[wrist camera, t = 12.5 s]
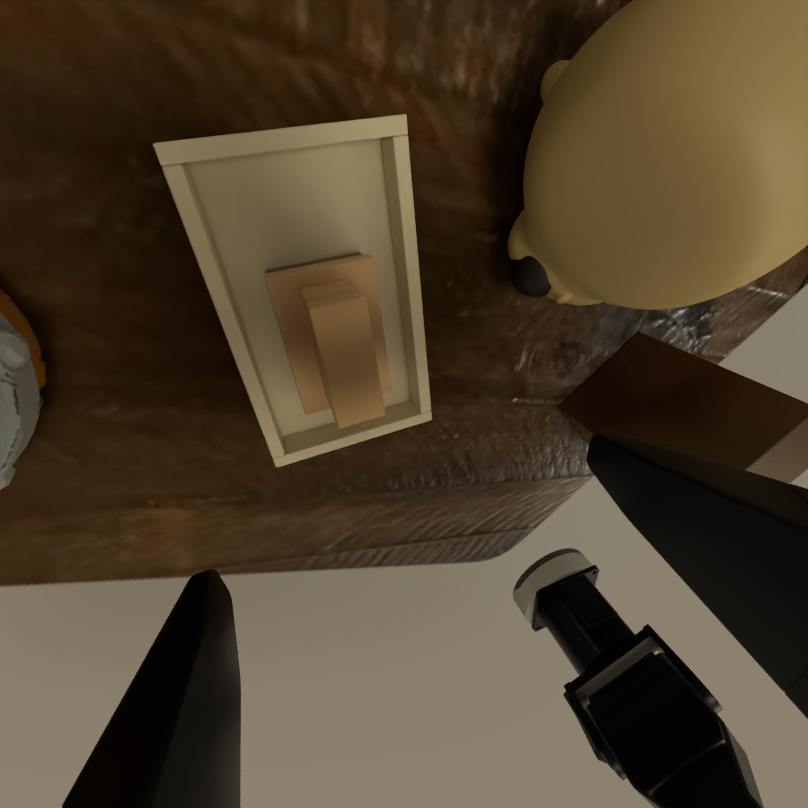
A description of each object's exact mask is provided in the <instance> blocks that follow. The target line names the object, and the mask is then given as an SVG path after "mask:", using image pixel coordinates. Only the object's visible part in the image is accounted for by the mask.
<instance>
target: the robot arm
mask: <svg viewBox="0 0 808 808" xmlns="http://www.w3.org/2000/svg"><path fill="white" fill-rule="evenodd" d="M587 463H588V466H589V468H590V469H591V471H592V472H593V473H594V475H595V476H596V477H597V479H598V480H599V481H600V483H601V484H602V485H603V487H604V488H605V489H606V491H607V492H608V493H609V495H610V496H611V497H612V499H613V500H614V502H615V503H616V504H617V506H618V507H619V508H620V510H621V511H622V512H623V513H624V515H625V516H626V517H627V518H628V520H629V521H630V522H631V523H632V524H633V525H634V526H635V528H636V529H637V530H638V531H639V532H640V533H641V534H642V535H643V536H644V537H645V539H646V540H647V541H648V542H649V543H650V544H651V545H652V546H653V547H654V549H655V550H656V551H657V552H658V553H659V554H660V555H661V556H662V557H663V558H664V560H665V561H666V562H667V563H668V564H669V565H670V566H671V567H672V569H673V570H674V571H675V572H676V573H677V574H678V575H679V576H680V577H681V578H682V579H683V581H684V582H685V583H686V584H687V585H688V586H689V587H690V589H691V590H693V592H694V593H695V594H696V595H697V596H698V597H699V598H700V600H701V601H702V602H703V603H704V604H705V605H706V606H707V607H708V608H709V610H710V611H711V612H712V613H713V614H714V615H715V616H716V617H717V618H718V619H719V621H720V622H721V623H722V624H723V625H724V626H725V627H726V628H727V630H728V631H729V632H730V633H731V634H732V635H733V636H734V637H735V638H736V640H737V641H738V642H739V643H740V644H741V645H742V646H743V647H744V648H745V649H746V651H747V652H748V653H749V654H750V655H751V656H752V657H753V658H754V659H755V660H756V662H757V663H758V664H759V665H760V666H761V667H762V668H763V669H764V670H765V672H766V673H767V674H768V675H769V676H770V677H771V678H772V679H773V681H775V683H776V684H777V685H778V686H779V687H780V688H781V689H782V690H783V691H785V694H786V695H787V696H788V698H789V699H790V700H791V701H792V702H793V703H794V704H795V705H796V706H797V707H798V709H799V710H800V711H801V712H802V713H803V714H804V715H805V716H806V717H807V719H808V489H806V488H803V487H799V486H796V485H792V484H787V483H786V482H783V481H779V480H776V479H773V478H769V477H766V476H763V475H759V474H756V473H753V472H749V471H746V470H743V469H739V468H736V467H733V466H729V465H726V464H723V463H719V462H716V461H713V460H709V459H706V458H703V457H699V456H696V455H693V454H689V453H686V452H683V451H679V450H676V449H673V448H669V447H666V446H663V445H659V444H656V443H653V442H649V441H646V440H643V439H639V438H636V437H633V436H629V435H626V434H623V433H619V432H616V431H613V430H603V431H600V432H597V433H594V434H593V435H592V436H591V439H590V443H589V449H588V454H587ZM598 573H599V569H598V568H597V566H596V565H593V566H591V567H588V568H586V569H584V570H582V571H579V572H577V573H575V574H573V575H570V576H568V577H566V578H563V579H561V580H559V581H557V582H554V583H552V584H550V585H548V586H545V587H543V588H541V589H539V590H538V591H537V592H536V596H535V604H534V611H533V619H532V628H533V630H534V631H538V630H540V629H543V628H545V627H547V628H548V629H549V631H550V632H551V634H552V635H553V637H554V638H555V640H556V641H557V643H558V644H559V646H560V647H561V649H562V650H563V652H564V653H565V655H566V656H567V658H568V659H569V661H570V662H571V664H572V665H573V667H574V668H575V670H576V671H577V673H578V674H579V677H577V678H576V679H575V680H573V681H572V682H571V683H570V682H568V683H567V684H566V685H564V687H565V689H566V692H565V693H564V697H565V698H566V700H567V702H568V703H569V705H570V707H571V708H572V710H573V712H574V713H575V715H576V717H577V719H578V720H579V723H580V725H581V726H582V729H583V731H584V733H585V735H586V737H587V739H588V741H589V743H590V745H591V747H592V750H593V752H594V754H595V755H596V757H597V758H598V760H599V761H602V762H604V763H607V764H608V765H609V766H610V767H611V768H612V769H613V770H614V771H615V772H616V773H617V774H618V776H619V777H620V778H622V780H624V779H626V778H628V780H629V781H630V783H631V784H632V786H633V787H634V788H635V789H636V790H637V791H638V792H639V793H640V794H641V795H642V796H643V797H644V798H645V799H646V800H647V801H648V802H649V803H650V804H651V805H652V806H653V807H654V808H764V807H763V804H762V801H761V798H760V795H759V792H758V789H757V786H756V782H755V780H754V776H753V773H752V770H751V767H750V764H749V761H748V758H747V755H746V753H745V751H744V750H743V749H742V747H741V746H740V745H739V743H738V742H737V740H736V739H735V738H734V736H733V735H732V733H731V732H730V731H729V729H728V728H727V727H726V725H725V724H724V722H723V721H722V720H721V718H720V717H719V716H718V715H717V713H718V712H719V711H721V710H722V709H723V708H722V706H721V705H720V704H719V702H718V701H717V700H716V699H715V697H714V696H713V695H712V694H711V693H710V691H709V690H708V689H707V688H706V687H705V686H704V685H703V683H702V682H701V681H700V680H699V679H698V678H697V677H696V675H695V674H694V673H693V672H692V671H691V670H690V669H689V668H688V667H687V666H686V665H685V663H684V662H683V661H682V660H681V659H680V658H679V657H678V656H677V655H676V654H675V653H674V652H673V650H671V649H670V647H669V646H668V645H667V644H666V643H665V642H664V641H663V640H662V639H661V638H660V637H659V635H657V633H656V632H655V631H654V630H653V629H652V628H651V627H650V626H649V625H648V624H647V625H646V626H644V627H643V630H641V631H640V632H639V633H637V634H636V635H635V634H634V633H633V632H632V631H631V629H630V628H629V627H628V626H627V625H626V623H624V621H623V620H622V619H621V617H620V616H619V615H618V613H617V612H616V611H615V610H614V608H613V607H612V606H611V605H610V604H609V602H608V601H607V600H606V599H605V598H604V597H603V596H602V594H601V593H600V592H599V591H598V589H597V588H596V587H595V584H596V580H597V577H598ZM657 650H658V651H659V652H660V653H658V654H657V655H655V654H654V652H656V651H657ZM240 728H241V687H240V671H239V661H238V651H237V642H236V633H235V624H234V615H233V606H232V599H231V595H230V593H229V590H228V589H227V587H226V585H225V584H224V582H223V580H222V579H221V577H220V575H219V574H218V572H217V571H216V570H215V569H209V570H206V571H203V572H200V573H197V574H195V575H193V576H192V577H191V578H190V579H189V581H188V583H187V584H186V586H185V588H184V590H183V592H182V593H181V595H180V597H179V599H178V601H177V602H176V604H175V606H174V608H173V609H172V611H171V613H170V615H169V616H168V618H167V620H166V622H165V624H164V625H163V627H162V629H161V631H160V632H159V634H158V636H157V638H156V640H155V641H154V643H153V645H152V647H151V648H150V650H149V652H148V654H147V655H146V658H145V659H144V661H143V663H142V665H141V666H140V668H139V670H138V672H137V673H136V675H135V677H134V679H133V681H132V682H131V684H130V686H129V688H128V689H127V691H126V693H125V695H124V696H123V698H122V700H121V702H120V704H119V705H118V707H117V709H116V711H115V712H114V714H113V716H112V718H111V720H110V721H109V723H108V725H107V727H106V728H105V730H104V732H103V734H102V736H101V737H100V739H99V741H98V742H97V744H96V746H95V748H94V750H93V751H92V753H91V755H90V757H89V759H88V760H87V762H86V764H85V766H84V767H83V769H82V771H81V773H80V774H79V776H78V778H77V780H76V782H75V783H74V785H73V787H72V789H71V790H70V792H69V794H68V796H67V798H66V799H65V801H64V803H63V805H62V808H240V736H241V735H240V734H241V729H240Z"/></svg>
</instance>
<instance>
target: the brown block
mask: <svg viewBox="0 0 808 808" xmlns="http://www.w3.org/2000/svg"><path fill="white" fill-rule="evenodd" d="M559 409H560V410H561V411H562V413H563V414H564V415H565V416H566V418H567V419H568V420H569V422H570V423H571V424H572V426H573V427H574V428H575V429H576V431H577V432H578V433H579V435H580V436H581V437H582V438H583V440H584V441H585V442H586V443H587V444H589V443H590V439H591V436H592V435H593V434H594V433H597V432H600V431H603V430H613V431H616V432H619V433H623V434H626V435H629V436H633V437H636V438H639V439H643V440H646V441H649V442H653V443H656V444H659V445H663V446H666V447H669V448H673V449H676V450H679V451H683V452H686V453H689V454H693V455H696V456H699V457H703V458H706V459H709V460H713V461H716V462H719V463H723V464H726V465H729V466H733V467H736V468H739V469H743V470H746V471H749V472H753V473H756V474H759V475H763V476H766V477H769V478H773V479H776V480H779V481H783V482H786V483H787V484H790V483H791V482H792V481H793V480H794V479H796V478H797V477H798V476H799V475H801V474H802V473H803V472H804V471H805V470H807V469H808V404H807V403H805V402H803V401H800V400H798V399H796V398H793V397H791V396H789V395H786V394H784V393H782V392H779V391H777V390H775V389H772V388H770V387H767V386H765V385H763V384H760V383H758V382H756V381H753V380H751V379H749V378H746V377H744V376H742V375H739V374H737V373H735V372H732V371H730V370H727V369H725V368H723V367H720V366H718V365H716V364H714V363H711V362H709V361H707V360H704V359H702V358H699V357H697V356H695V355H692V354H690V353H688V352H685V351H683V350H681V349H678V348H676V347H674V346H671V345H669V344H667V343H664V342H662V341H660V340H657V339H655V338H653V337H650V336H648V335H645V334H643V333H641V332H638V333H637V334H636V335H635V336H634V337H633V338H632V339H631V340H630V341H629V342H628V343H627V344H625V345H624V346H623V347H622V348H621V349H620V350H619V351H618V352H617V353H616V354H615V355H614V356H612V357H611V358H610V359H609V360H608V361H607V362H606V363H605V364H604V365H603V366H602V367H601V368H600V369H598V370H597V371H596V372H595V373H594V374H593V375H592V376H591V377H590V378H589V379H588V380H587V381H586V382H584V383H583V384H582V385H581V386H580V387H579V388H578V389H577V390H576V391H575V392H574V393H573V394H571V395H570V396H569V397H568V398H567V399H566V400H565V401H564V402H563V403H562V404H561V405H560V406H559Z"/></svg>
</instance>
